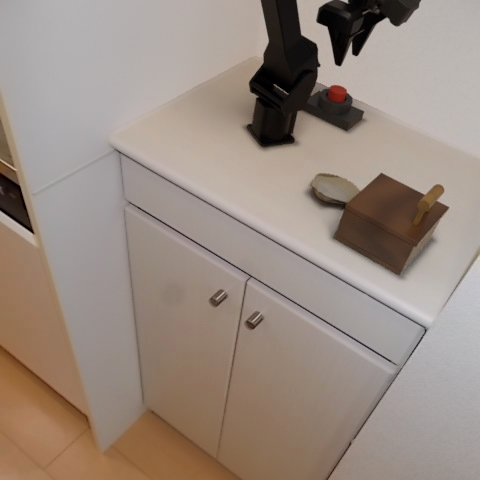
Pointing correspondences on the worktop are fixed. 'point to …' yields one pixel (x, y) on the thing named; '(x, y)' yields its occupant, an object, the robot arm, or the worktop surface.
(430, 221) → the lid
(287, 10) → the robot arm
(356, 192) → the seashell
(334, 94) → the button
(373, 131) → the worktop surface
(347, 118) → the button block
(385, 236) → the chest
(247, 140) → the worktop surface
